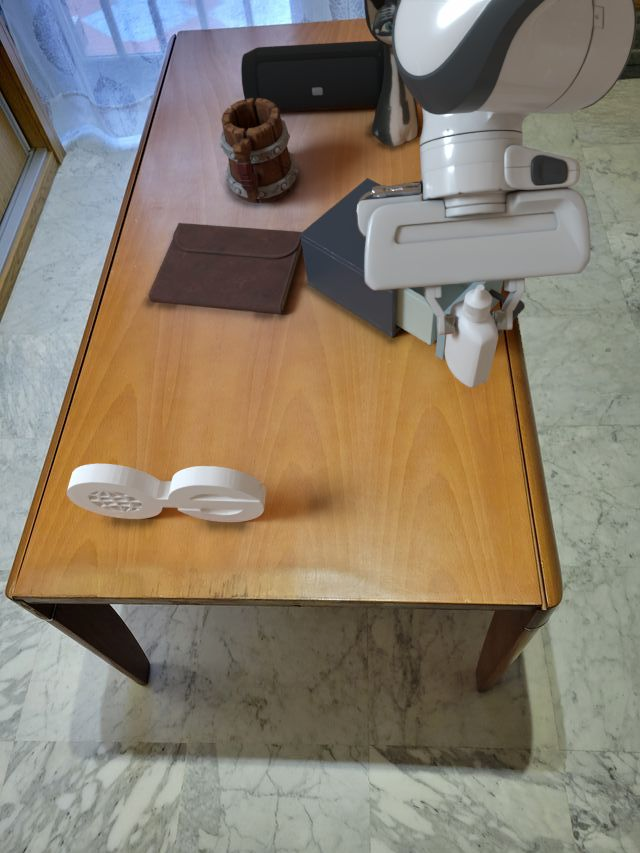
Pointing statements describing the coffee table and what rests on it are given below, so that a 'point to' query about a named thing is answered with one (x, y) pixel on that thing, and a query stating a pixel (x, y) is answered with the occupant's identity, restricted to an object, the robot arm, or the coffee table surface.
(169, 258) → the brown leather sleeve case
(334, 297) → the cabinet
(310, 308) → the coffee table surface
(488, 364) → the eye dropper bottle
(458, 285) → the drawer
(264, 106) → the mug
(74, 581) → the coffee table surface
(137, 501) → the white double disc plate
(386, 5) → the figurine
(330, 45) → the portable speaker
